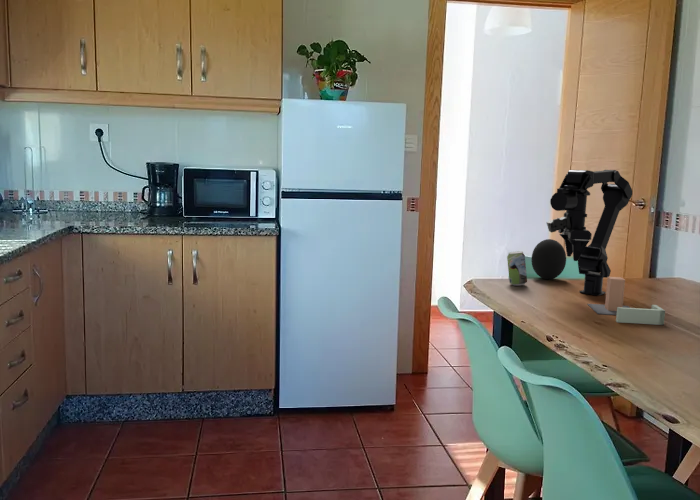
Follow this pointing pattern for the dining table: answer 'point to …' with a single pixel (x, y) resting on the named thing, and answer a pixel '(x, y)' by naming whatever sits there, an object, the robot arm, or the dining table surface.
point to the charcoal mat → (603, 309)
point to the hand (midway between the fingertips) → (572, 258)
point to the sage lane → (641, 315)
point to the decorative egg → (548, 259)
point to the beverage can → (517, 268)
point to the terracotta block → (614, 293)
